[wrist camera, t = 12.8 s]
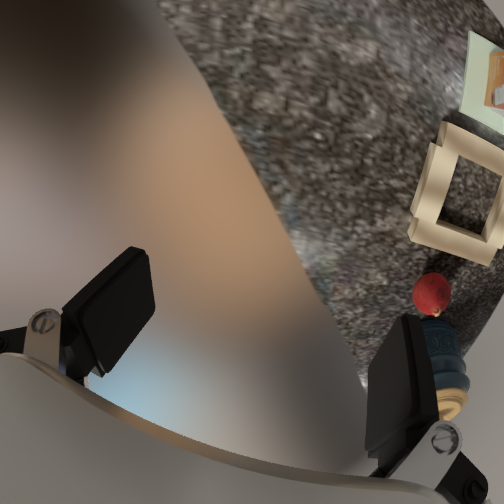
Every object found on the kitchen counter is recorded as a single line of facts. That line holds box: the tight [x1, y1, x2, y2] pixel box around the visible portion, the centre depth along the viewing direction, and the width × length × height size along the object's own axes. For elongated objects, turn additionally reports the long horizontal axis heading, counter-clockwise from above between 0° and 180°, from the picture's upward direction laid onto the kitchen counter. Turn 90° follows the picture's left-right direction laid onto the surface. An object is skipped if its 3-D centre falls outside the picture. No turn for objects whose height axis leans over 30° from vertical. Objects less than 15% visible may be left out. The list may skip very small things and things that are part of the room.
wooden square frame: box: [407, 121, 504, 266], centre depth 28 cm, size 16×16×2 cm
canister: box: [421, 320, 470, 421], centre depth 35 cm, size 13×13×18 cm
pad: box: [458, 30, 504, 136], centre depth 20 cm, size 12×12×1 cm
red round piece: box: [412, 272, 451, 317], centre depth 33 cm, size 6×6×8 cm
